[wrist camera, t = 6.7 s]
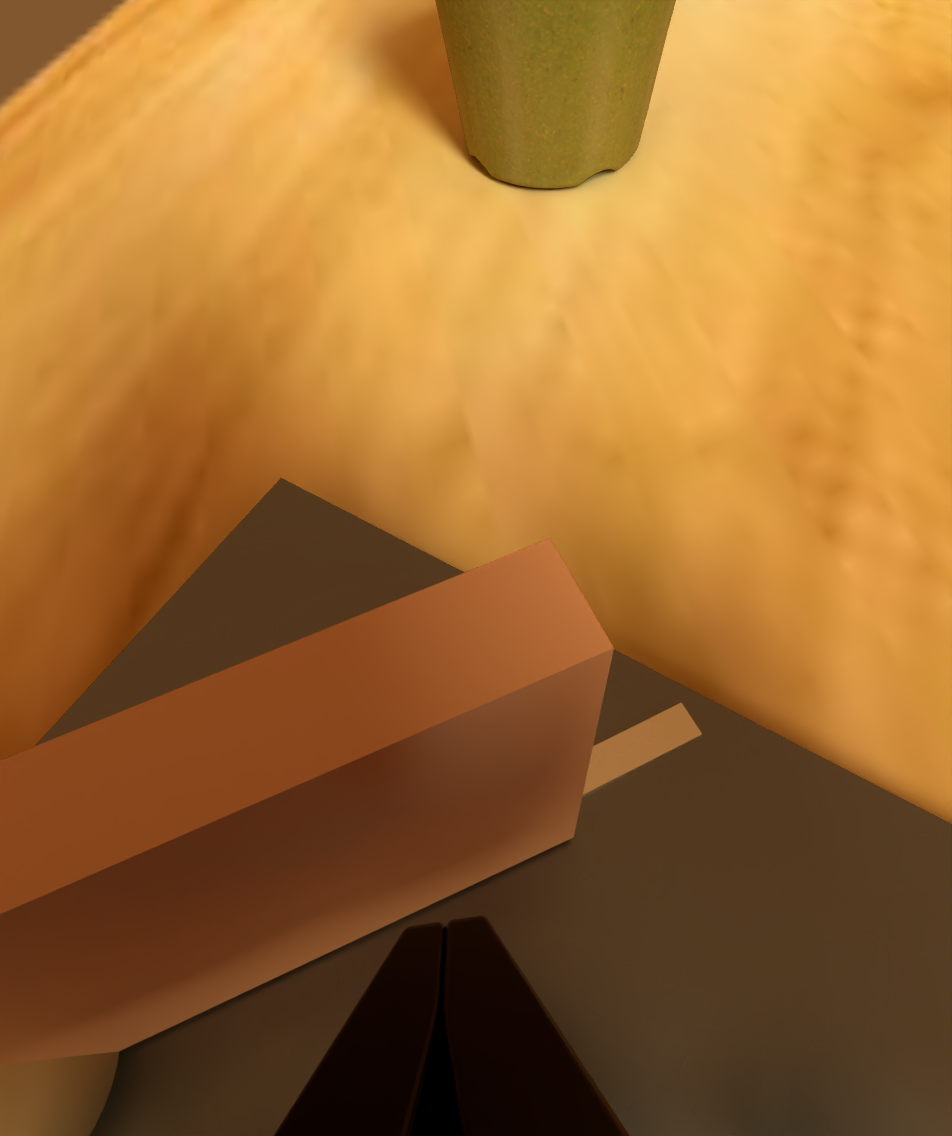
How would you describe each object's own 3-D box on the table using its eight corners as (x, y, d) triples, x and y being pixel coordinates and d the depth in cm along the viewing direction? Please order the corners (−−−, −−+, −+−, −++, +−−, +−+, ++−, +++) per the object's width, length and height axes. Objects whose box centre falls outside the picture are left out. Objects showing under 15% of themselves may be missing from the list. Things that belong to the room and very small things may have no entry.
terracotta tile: (-135, 1285, 11) (-1394, 1810, 4) (-132, 990, 13) (-940, 971, 6) (611, 917, 12) (706, 806, 5) (512, 708, 14) (487, 432, 7)
